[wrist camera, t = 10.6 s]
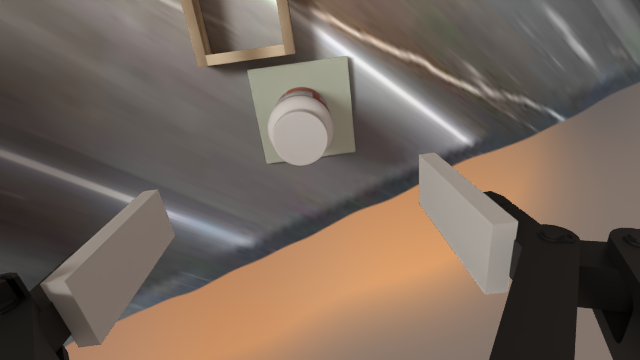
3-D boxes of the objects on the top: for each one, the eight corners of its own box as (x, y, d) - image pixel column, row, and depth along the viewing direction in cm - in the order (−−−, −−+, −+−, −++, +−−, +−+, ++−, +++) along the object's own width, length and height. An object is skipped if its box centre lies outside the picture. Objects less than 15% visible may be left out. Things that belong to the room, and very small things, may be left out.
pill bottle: (330, 137, 38) (339, 171, 27) (278, 141, 37) (268, 177, 27) (326, 83, 35) (335, 99, 25) (271, 87, 35) (258, 105, 25)
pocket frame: (205, 65, 34) (198, 67, 32) (177, -43, 30) (167, -51, 28) (295, 53, 34) (295, 53, 32) (279, -58, 30) (277, -66, 28)
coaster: (267, 162, 39) (266, 163, 39) (248, 69, 35) (247, 70, 34) (354, 150, 39) (355, 151, 38) (346, 55, 35) (347, 56, 34)
